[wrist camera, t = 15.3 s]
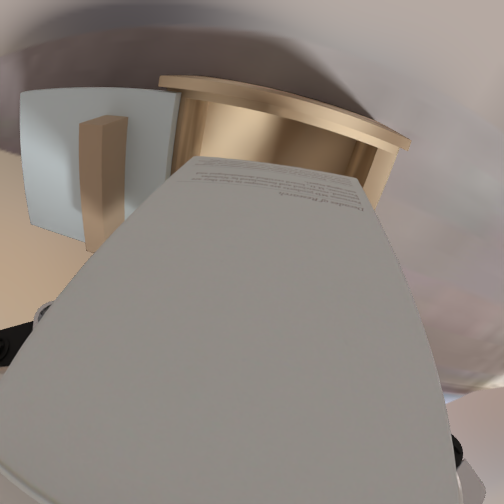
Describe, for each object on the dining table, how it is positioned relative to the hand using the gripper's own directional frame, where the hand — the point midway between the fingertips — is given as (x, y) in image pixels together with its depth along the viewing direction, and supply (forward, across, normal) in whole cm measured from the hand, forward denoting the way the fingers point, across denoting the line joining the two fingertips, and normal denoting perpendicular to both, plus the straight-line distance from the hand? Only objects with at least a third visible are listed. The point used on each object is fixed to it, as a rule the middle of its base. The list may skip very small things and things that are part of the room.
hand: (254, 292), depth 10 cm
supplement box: (+4, 0, 0) cm, 4 cm away
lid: (+7, +13, 0) cm, 15 cm away
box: (+13, +1, 0) cm, 13 cm away
